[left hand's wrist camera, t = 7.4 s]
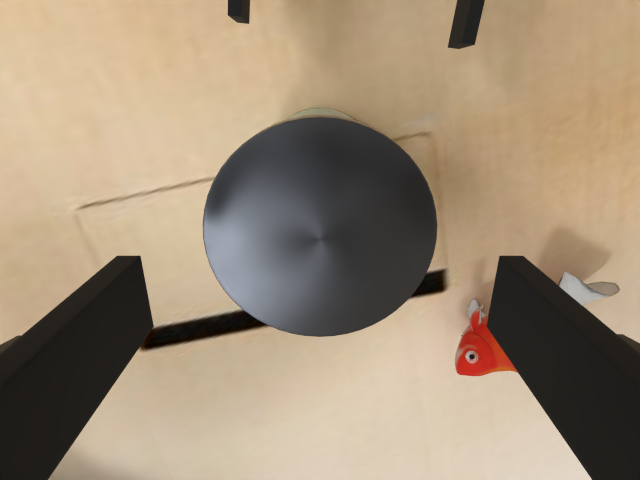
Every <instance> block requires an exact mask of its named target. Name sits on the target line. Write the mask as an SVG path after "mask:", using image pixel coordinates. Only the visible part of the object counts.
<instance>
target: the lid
mask: <svg viewBox="0 0 640 480" xmlns="http://www.w3.org/2000/svg"><path fill="white" fill-rule="evenodd" d="M436 238H437V217H436V209H435V204H434V200H433V196H432V193H431V191H430V188H429V186H428V183H427V181H426V179H425V178H424V176H423V174H422V172H421V171H420V169H419V167H418V166H417V165H416V164H415V162H414V161H413V160H412V158H411V157H410V156H409V155H408V154H407V153H406V152H405V151H404V150H403V149H402V148H401V147H400V146H399V145H398V144H396V143H395V142H394V141H392V140H391V139H389V138H388V137H387V136H385V135H384V134H383V133H381V132H380V131H378V130H376V129H374V128H372V127H370V126H369V125H367V124H364V123H362V122H359V121H356V120H353V119H350V118H345V117H341V116H335V115H322V114H319V115H304V116H300V117H295V118H290V119H287V120H284V121H281V122H278V123H276V124H273V125H272V126H270V127H268V128H266V129H264V130H262V131H260V132H259V133H258V134H256V135H255V136H253V137H252V138H250V139H249V140H248V141H246V142H245V143H244V144H242V145H241V146H240V147H239V148H238V149H237V150H236V151H235V152H234V153H233V154H232V155H231V156H230V157H229V159H228V160H227V161H226V162H225V164H224V165H223V166H222V167H221V169H220V171H219V172H218V174H217V176H216V178H215V179H214V181H213V183H212V186H211V188H210V191H209V193H208V196H207V200H206V205H205V209H204V217H203V239H204V244H205V249H206V254H207V257H208V260H209V263H210V266H211V268H212V270H213V272H214V274H215V276H216V278H217V280H218V281H219V283H220V284H221V286H222V287H223V289H224V290H225V292H226V293H227V294H228V295H229V296H230V297H231V299H232V300H233V301H234V302H235V303H236V304H237V305H239V306H240V307H241V308H242V309H243V310H244V311H246V312H247V313H248V314H250V315H251V316H253V317H254V318H256V319H257V320H259V321H261V322H263V323H265V324H266V325H269V326H271V327H274V328H276V329H279V330H282V331H285V332H289V333H292V334H298V335H304V336H317V337H322V336H336V335H342V334H348V333H351V332H355V331H358V330H361V329H364V328H366V327H369V326H371V325H373V324H375V323H377V322H379V321H381V320H383V319H384V318H386V317H387V316H389V315H390V314H392V313H393V312H394V311H396V310H397V309H398V308H399V307H400V306H401V305H403V304H404V303H405V302H406V301H407V300H408V299H409V297H410V296H411V295H412V294H413V293H414V292H415V290H416V289H417V287H418V286H419V284H420V283H421V281H422V280H423V278H424V276H425V274H426V272H427V270H428V268H429V266H430V263H431V260H432V257H433V254H434V249H435V244H436Z"/></svg>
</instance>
